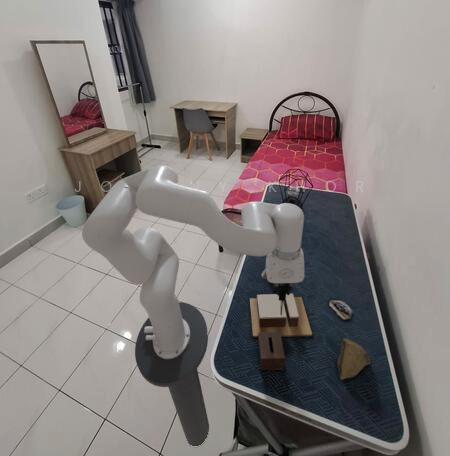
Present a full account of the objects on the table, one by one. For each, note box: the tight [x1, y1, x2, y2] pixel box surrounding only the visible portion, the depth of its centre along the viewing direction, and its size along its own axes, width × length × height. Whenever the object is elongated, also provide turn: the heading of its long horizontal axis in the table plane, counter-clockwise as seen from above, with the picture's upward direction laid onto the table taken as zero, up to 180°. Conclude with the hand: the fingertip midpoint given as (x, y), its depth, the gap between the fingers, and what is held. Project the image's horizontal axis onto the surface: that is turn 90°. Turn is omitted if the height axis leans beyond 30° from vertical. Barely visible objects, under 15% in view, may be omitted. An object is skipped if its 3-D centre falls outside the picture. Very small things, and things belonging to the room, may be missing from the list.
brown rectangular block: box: [284, 293, 299, 327], centre depth 85 cm, size 3×8×6 cm, turn 0°
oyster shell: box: [328, 299, 354, 320], centre depth 88 cm, size 7×8×2 cm
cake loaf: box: [256, 293, 286, 327], centre depth 85 cm, size 9×8×6 cm
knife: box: [279, 283, 287, 315], centre depth 73 cm, size 2×3×14 cm, turn 172°
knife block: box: [257, 332, 286, 371], centre depth 75 cm, size 7×7×7 cm
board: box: [249, 296, 313, 338], centre depth 87 cm, size 20×13×1 cm, turn 90°
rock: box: [337, 338, 371, 381], centre depth 71 cm, size 11×9×10 cm
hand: (282, 290), depth 72 cm, fingers closed on knife, 2 cm apart
